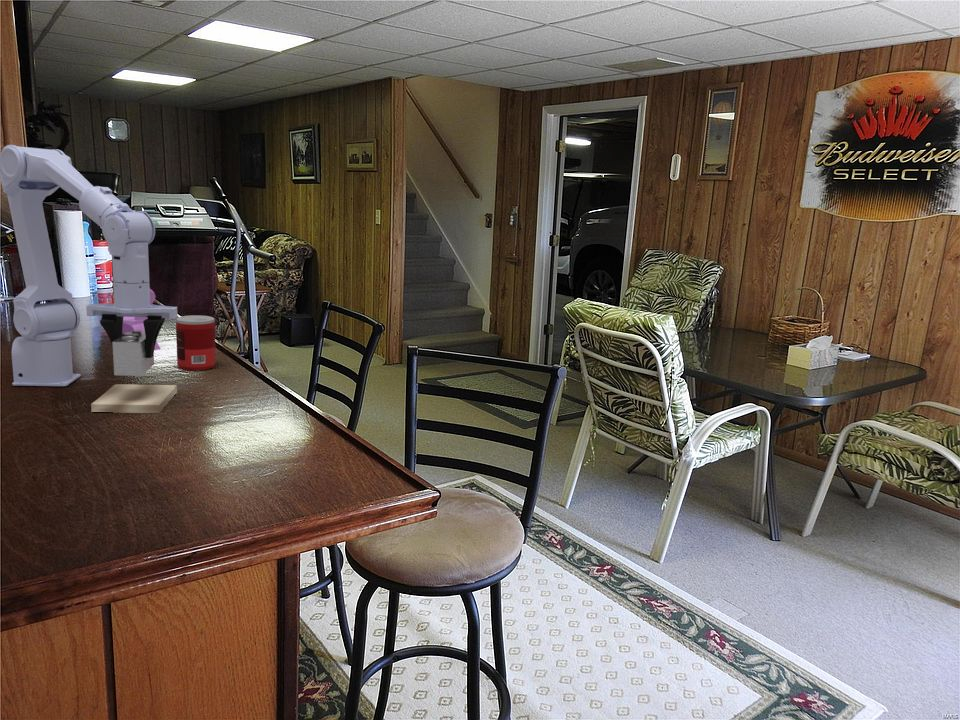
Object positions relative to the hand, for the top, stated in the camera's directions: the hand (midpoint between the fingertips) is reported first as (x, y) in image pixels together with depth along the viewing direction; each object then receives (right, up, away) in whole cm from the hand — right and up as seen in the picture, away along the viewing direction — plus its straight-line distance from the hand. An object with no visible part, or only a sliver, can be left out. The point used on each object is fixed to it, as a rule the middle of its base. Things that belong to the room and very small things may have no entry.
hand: (134, 356), depth 125 cm
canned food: (-1, -2, +29) cm, 29 cm away
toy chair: (-20, +2, +42) cm, 46 cm away
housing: (0, -2, 0) cm, 2 cm away
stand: (-1, -8, +2) cm, 9 cm away
